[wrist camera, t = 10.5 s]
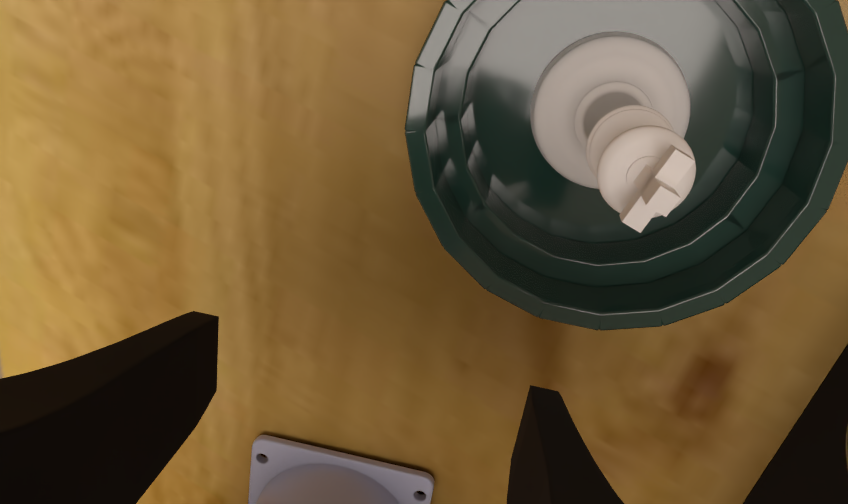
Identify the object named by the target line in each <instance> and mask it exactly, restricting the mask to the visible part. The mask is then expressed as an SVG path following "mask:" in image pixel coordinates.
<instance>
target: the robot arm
mask: <svg viewBox="0 0 848 504" xmlns="http://www.w3.org/2000/svg"><path fill="white" fill-rule="evenodd" d="M218 321H219V317H218V316H213V315H209V314H204V313H200V312H195V311H193V312H190V313H187V314H184V315H181V316H179V317H176V318H174V319H171V320H169V321H167V322H164V323H162V324H160V325H157V326H155V327H153V328H150V329H148V330H146V331H143V332H141V333H138V334H136V335H134V336H131V337H129V338H127V339H124V340H122V341H119V342H117V343H114V344H112V345H109V346H106V347H104V348H101V349H98V350H96V351H93V352H90V353H88V354H85V355H82V356H80V357H77V358H74V359H71V360H68V361H65V362H62V363H59V364H56V365H53V366H49V367H46V368H42V369H39V370H35V371H32V372H28V373H24V374H20V375H16V376H11V377H7V378H2V379H0V504H136V503H137V502H138V500H139V499H140V498H141V496H142V495H143V494H144V493H145V491H146V490H147V489H148V488H149V486H150V485H151V484H152V482H153V481H154V480H155V479H156V477H157V476H158V475H159V474H160V472H161V471H162V470H163V468H164V467H165V466H166V465H167V463H168V462H169V461H170V460H171V458H172V457H173V456H174V454H175V453H176V452H177V451H178V449H179V448H180V447H181V445H182V444H183V443H184V441H185V440H186V439H187V438H188V436H189V435H190V434H191V432H192V431H193V430H194V428H195V427H196V425H197V424H198V422H199V420H200V419H201V417H202V415H203V414H204V412H205V410H206V409H207V407H208V405H209V403H210V401H211V399H212V398H213V396H214V394H215V392H216V388H217V355H218ZM261 454H264V455H266V456H267V458H265V457H263V456H262V455H261ZM433 488H434V479H433V477H432V476H431V475H430V474H429V473H426V472H423V471H419V470H415V469H410V468H406V467H402V466H398V465H393V464H389V463H385V462H380V461H376V460H372V459H367V458H363V457H359V456H355V455H350V454H346V453H342V452H337V451H333V450H329V449H324V448H320V447H316V446H312V445H307V444H303V443H299V442H294V441H290V440H286V439H281V438H277V437H273V436H269V435H260V436H258V437H257V438H256V439H255V441H254V442H253V445H252V455H251V470H250V484H249V499H248V504H430V503H431V498H432V493H433ZM416 491H422V492H424V493H425V494H419V493H417V492H416ZM507 504H624V503H623V502H622V501H621V499H620V498H619V497H618V495H617V494H616V493H615V491H614V490H613V489H612V487H611V486H610V484H609V483H608V481H607V480H606V478H605V477H604V475H603V474H602V472H601V470H600V469H599V467H598V466H597V464H596V462H595V461H594V459H593V457H592V456H591V454H590V452H589V450H588V449H587V447H586V445H585V443H584V442H583V440H582V438H581V436H580V434H579V432H578V430H577V428H576V426H575V424H574V422H573V420H572V418H571V416H570V414H569V412H568V410H567V408H566V406H565V403H564V401H563V399H562V397H561V395H560V394H559V392H558V391H554V390H549V389H545V388H540V387H536V386H531V385H530V389H529V392H528V396H527V400H526V404H525V408H524V412H523V416H522V419H521V423H520V427H519V431H518V435H517V439H516V443H515V446H514V450H513V454H512V458H511V466H510V475H509V484H508V494H507Z"/></svg>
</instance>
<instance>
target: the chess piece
mask: <svg viewBox="0 0 848 504" xmlns="http://www.w3.org/2000/svg"><path fill="white" fill-rule="evenodd" d="M689 118H690V95H689V90H688V86H687V83H686V81H685V78H684V75H683V73H682V71H681V69H680V67H679V66H678V64H677V63H676V61H675V60H674V59H673V57H672V56H671V55H670V54H669V53H668V52H667V51H666V50H665V49H663V48H662V47H661V46H659V45H658V44H656V43H655V42H653V41H651V40H649V39H647V38H645V37H642V36H639V35H636V34H632V33H626V32H605V33H599V34H595V35H591V36H588V37H585V38H583V39H581V40H579V41H577V42H575V43H573V44H571V45H570V46H568V47H567V48H565V49H564V50H563V51H561V52H560V53H559V54H558V55H557V56H556V57H555V58H554V59H553V60H552V61H551V62H550V63H549V65H548V66H547V67H546V69H545V70H544V72H543V73H542V75H541V77H540V78H539V80H538V83H537V85H536V87H535V90H534V93H533V97H532V102H531V111H530V119H531V128H532V133H533V136H534V139H535V142H536V144H537V147H538V149H539V150H540V152H541V154H542V155H543V157H544V158H545V159H546V161H547V162H548V163H549V164H550V165H551V166H552V167H553V168H554V169H555V170H556V171H557V172H558V173H559V174H561V175H562V176H563V177H565V178H567V179H568V180H570V181H572V182H574V183H576V184H579V185H582V186H585V187H589V188H595V189H599V190H600V193H601V195H602V197H603V198H604V200H605V201H606V202H607V203H608V205H609V206H611V207H612V208H613V209H614V210H616V211H617V212H619V213H620V215H619V216H620V219H621V221H622V222H623V223H624V224H626V225H628V226H629V227H631V228H633V229H634V230H636V231H638V232H640V233H641V232H642V230H643V229H644V228H645V226H646V225H647V224H648V222H649V221H650V220H651V218H654V217H658V216H661V215H663V216H665V217H667V215H668V214H669V213H670V211H671V210H673V209H674V208H676V207H677V206H678V205H679V204H680V203H681V202H682V201H683V200H684V199H685V198H686V197H687V195H688V194H689V192H690V190H691V188H692V186H693V183H694V180H695V174H696V163H695V158H694V155H693V152H692V150H691V148H690V147H689V145H688V144H687V142H686V141H685V140H684V136H685V134H686V131H687V128H688V124H689Z"/></svg>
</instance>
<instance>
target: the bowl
mask: <svg viewBox="0 0 848 504" xmlns="http://www.w3.org/2000/svg"><path fill="white" fill-rule="evenodd" d="M605 32H626V33H632V34H636V35H639V36H642V37H645V38H647V39H649V40H651V41H653V42H655V43H656V44H658V45H659V46H661V47H662V48H663V49H665V50H666V51H667V52H668V53H669V54H670V55H671V56H672V57H673V59H674V60H675V61H676V63H677V64H678V66H679V67H680V69H681V71H682V73H683V75H684V78H685V81H686V83H687V86H688V90H689V95H690V118H689V124H688V128H687V131H686V134H685V136H684V140H685V141H686V142H687V144H688V145H689V147H690V148H691V150H692V152H693V155H694V158H695V163H696V174H695V180H694V183H693V186H692V188H691V190H690V192H689V194H688V195H687V197H686V198H685V199H684V200H683V201H682V202H681V203H680V204H679V205H678V206H677V207H676V208H674V209H673V210H671V211H670V213H669V214H668V215H667V217H665V216H663V215H661V216H658V217H654V218H651V220H650V221H649V222H648V224H647V225H646V226H645V228H644V229H643V230H642V232H641V233H640V232H638V231H636V230H634V229H633V228H631V227H629V226H628V225H626V224H624V223H623V222H622V221H621V219H620V216H619V215H620V213H619V212H617V211H616V210H614V209H613V208H612V207H611V206H609V205H608V203H607V202H606V201H605V200H604V198H603V197H602V195H601V193H600V190H599V189H595V188H589V187H585V186H582V185H579V184H576V183H574V182H572V181H570V180H568V179H567V178H565V177H563V176H562V175H561V174H559V173H558V172H557V171H556V170H555V169H554V168H553V167H552V166H551V165H550V164H549V163H548V162H547V161H546V159H545V158H544V157H543V155H542V154H541V152H540V150H539V149H538V147H537V144H536V142H535V139H534V136H533V133H532V128H531V119H530V111H531V102H532V97H533V93H534V90H535V87H536V85H537V83H538V80H539V78H540V77H541V75H542V73H543V72H544V70H545V69H546V67H547V66H548V65H549V63H550V62H551V61H552V60H553V59H554V58H555V57H556V56H557V55H558V54H559V53H560V52H561V51H563V50H564V49H565V48H567V47H568V46H570V45H571V44H573V43H575V42H577V41H579V40H581V39H583V38H585V37H588V36H591V35H595V34H599V33H605ZM405 130H406V131H405V136H406V142H407V148H408V154H409V160H410V166H411V172H412V178H413V184H414V190H415V192H416V196H417V198H418V200H419V202H420V204H421V206H422V208H423V210H424V212H425V213H426V215H427V217H428V219H429V221H430V223H431V225H432V227H433V229H434V231H435V233H436V235H437V237H438V239H439V241H440V243H441V244H442V246H443V247H444V249H445V250H446V251H447V252H448V253H449V254H450V255H451V256H452V257H453V258H454V259H455V260H456V261H457V262H458V263H459V264H460V265H461V266H462V267H463V268H464V269H465V270H466V271H467V272H468V273H469V274H470V275H471V276H472V277H473V278H474V279H475V280H476V281H477V282H478V283H479V284H480V285H481V286H482V287H483V288H484V289H486V290H487V291H489V292H491V293H493V294H495V295H497V296H498V297H500V298H502V299H504V300H506V301H508V302H510V303H512V304H513V305H515V306H517V307H519V308H521V309H523V310H525V311H527V312H528V313H530V314H532V315H534V316H536V317H539V318H541V319H546V320H551V321H556V322H561V323H565V324H570V325H575V326H580V327H584V328H589V329H594V330H598V329H599V330H615V329H630V328H645V327H659V326H662V325H668V324H671V323H674V322H677V321H679V320H682V319H685V318H688V317H691V316H694V315H697V314H700V313H702V312H705V311H708V310H711V309H714V308H717V307H720V306H722V305H724V304H725V303H728V302H730V301H731V300H733V299H734V298H736V297H737V296H739V295H740V294H741V293H743V292H744V291H746V290H747V289H749V288H750V287H752V286H753V285H754V284H756V283H757V282H759V281H760V280H762V279H763V278H765V277H766V276H768V275H769V274H770V273H772V272H773V271H775V270H776V269H778V268H779V267H780V266H781V264H784V263H785V262H786V261H787V259H788V258H789V257H790V256H791V255H792V253H793V252H794V251H795V250H796V248H797V247H798V246H799V245H800V244H801V242H802V241H803V240H804V239H805V237H806V236H807V235H808V234H809V233H810V231H811V230H812V229H813V228H814V227H815V225H816V224H817V223H818V222H819V220H820V219H821V218H822V217H823V216H824V214H825V213H826V212H827V210H828V209H829V206H830V204H831V201H832V199H833V196H834V194H835V192H836V189H837V187H838V184H839V182H840V179H841V177H842V174H843V172H844V170H845V167H846V165H847V162H848V30H847V27H846V24H845V20H844V17H843V14H842V11H841V7H840V4H839V1H838V0H447V1H445V2H444V3H443V5H442V7H441V9H440V11H439V14H438V16H437V18H436V20H435V22H434V24H433V26H432V28H431V30H430V32H429V34H428V36H427V38H426V40H425V43H424V45H423V47H422V49H421V51H420V53H419V55H418V57H417V59H416V61H415V65H414V68H413V75H412V82H411V89H410V96H409V103H408V109H407V116H406V123H405Z"/></svg>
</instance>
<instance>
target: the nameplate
mask: <svg viewBox="0 0 848 504" xmlns="http://www.w3.org/2000/svg"><path fill="white" fill-rule="evenodd" d="M743 504H848V345H847V347H846V348H845V350H844V352H843V353H842V355H841V356H840V358H839V359H838V361H837V362H836V364H835V365H834V367H833V368H832V370H831V371H830V373H829V374H828V376H827V377H826V379H825V380H824V382H823V383H822V385H821V386H820V388H819V389H818V391H817V393H816V394H815V396H814V397H813V399H812V400H811V402H810V403H809V405H808V406H807V408H806V409H805V411H804V412H803V414H802V415H801V417H800V418H799V420H798V421H797V423H796V424H795V426H794V427H793V429H792V430H791V432H790V434H789V435H788V437H787V438H786V440H785V441H784V443H783V444H782V446H781V447H780V449H779V450H778V452H777V453H776V455H775V456H774V458H773V459H772V461H771V462H770V464H769V465H768V467H767V468H766V470H765V471H764V473H763V475H762V476H761V478H760V479H759V481H758V482H757V484H756V485H755V487H754V488H753V490H752V491H751V493H750V494H749V496H748V497H747V499H746V500H745V502H744V503H743Z"/></svg>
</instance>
